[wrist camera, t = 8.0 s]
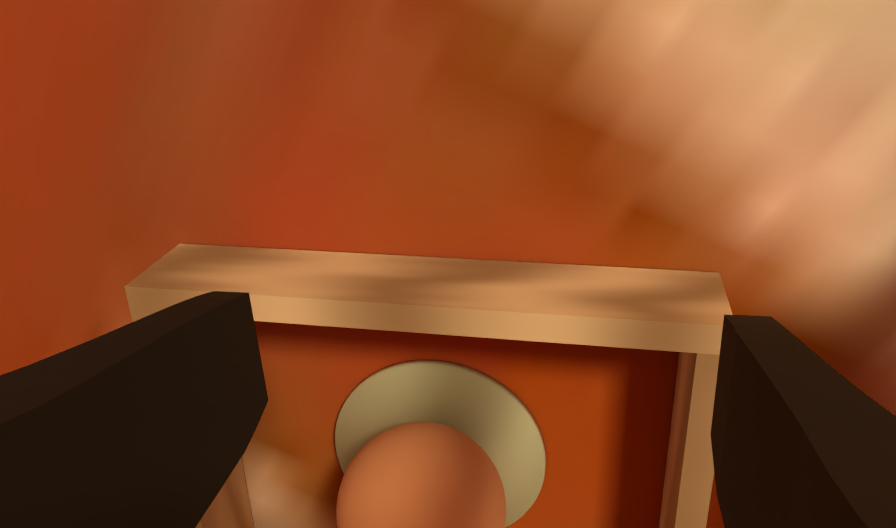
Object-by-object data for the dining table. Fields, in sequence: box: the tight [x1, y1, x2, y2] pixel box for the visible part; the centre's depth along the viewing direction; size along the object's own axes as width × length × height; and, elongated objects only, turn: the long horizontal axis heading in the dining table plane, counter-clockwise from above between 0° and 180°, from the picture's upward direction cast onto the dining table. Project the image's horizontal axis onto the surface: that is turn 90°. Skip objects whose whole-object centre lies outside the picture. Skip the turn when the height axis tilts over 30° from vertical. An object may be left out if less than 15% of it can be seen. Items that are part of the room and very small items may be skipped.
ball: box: [336, 422, 506, 528], centre depth 22 cm, size 5×5×5 cm
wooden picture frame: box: [124, 244, 732, 528], centre depth 23 cm, size 16×14×3 cm
